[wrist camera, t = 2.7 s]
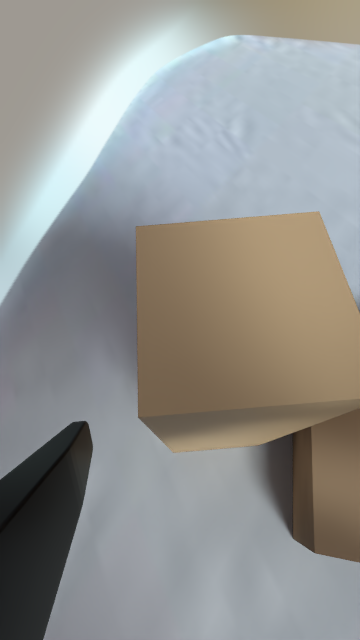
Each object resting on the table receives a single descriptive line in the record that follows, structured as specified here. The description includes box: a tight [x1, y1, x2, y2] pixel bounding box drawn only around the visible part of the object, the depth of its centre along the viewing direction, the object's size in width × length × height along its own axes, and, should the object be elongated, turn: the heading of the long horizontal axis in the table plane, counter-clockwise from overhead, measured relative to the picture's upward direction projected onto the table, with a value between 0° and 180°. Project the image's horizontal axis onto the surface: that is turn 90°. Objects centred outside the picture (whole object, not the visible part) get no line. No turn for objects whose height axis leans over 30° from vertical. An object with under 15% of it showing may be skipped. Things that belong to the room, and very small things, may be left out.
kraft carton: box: [136, 212, 360, 453], centre depth 13 cm, size 5×5×13 cm
